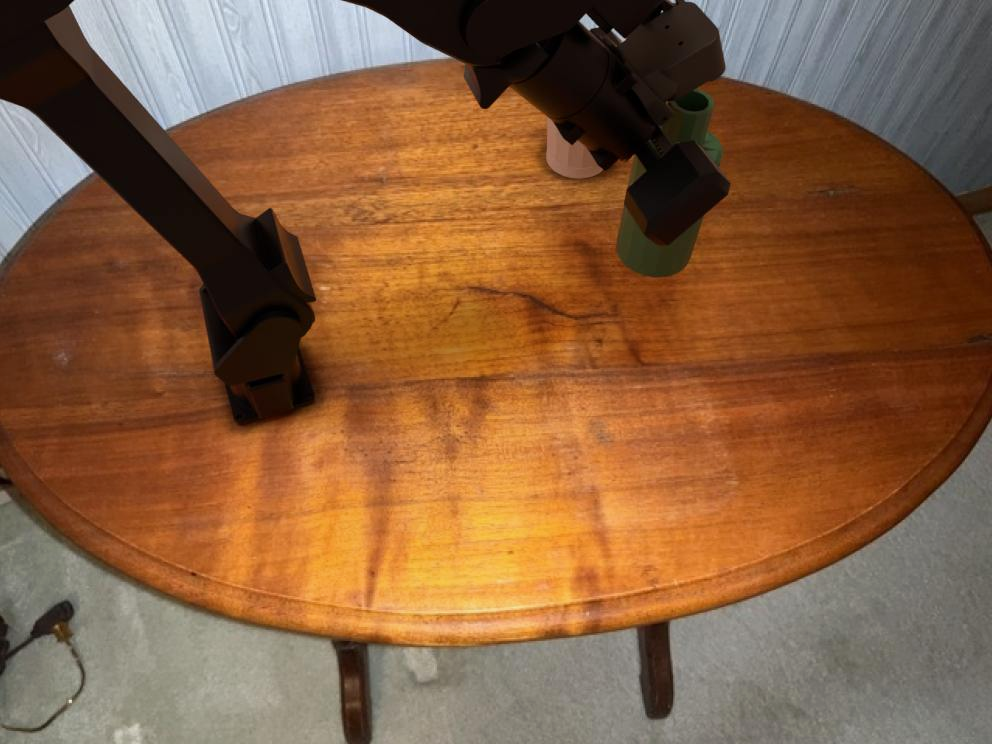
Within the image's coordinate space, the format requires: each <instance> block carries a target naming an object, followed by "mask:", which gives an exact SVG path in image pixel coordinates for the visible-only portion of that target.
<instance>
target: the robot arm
mask: <svg viewBox="0 0 992 744" xmlns="http://www.w3.org/2000/svg"><path fill="white" fill-rule="evenodd" d="M74 1H75V0H0V100H2V101H4V102H7V103H10V104H12V105H16V106H17V107H22V108H23V109H26V110H27V111H29V113H31V114H32V115H34V116H35V117H37V118H38V119H39V120H40V121H41V122H42V124H44V125H45V126H46V127H47V129H49V130H50V131H51V132H52V133H53V134H55V136H57V137H58V139H60V141H61V142H63V143H64V145H66V147H68V148H69V149H70V150H71V151H72V152H73V153H74V154H75V155H77V157H78V158H80V160H81V161H82V162H83V163H84V164H86V165H87V166H88V167H89V168H90V169H91V171H93V172H94V173H95V174H96V175H97V176H98V177H99V178H100V179H101V180H102V181H103V182H104V183H106V185H108V186H109V188H111V189H112V191H114V192H115V194H117V195H118V196H119V197H120V198H121V199H122V200H123V201H124V202H125V203H126V204H127V205H128V206H130V208H131V209H132V210H133V211H134V212H135V213H137V214H138V215H139V216H140V217H141V218H142V219H143V221H145V222H146V223H147V224H148V225H149V226H150V227H151V228H152V229H153V230H154V231H155V232H157V233H158V234H159V236H160V237H161V238H163V239H164V240H165V241H166V242H167V243H168V244H169V245H170V246H171V247H172V248H173V249H174V250H175V251H176V252H177V253H178V254H179V255H180V256H181V257H182V258H183V259H184V260H185V261H187V263H188V264H189V265H190V266H192V268H194V269H195V271H196V272H197V274H198V276H199V278H200V280H201V282H202V285H201V286H200V287H199V289H198V293H199V298H200V299H199V300H200V305H201V309H202V314H203V319H204V325H205V330H206V336H207V341H208V346H209V352H210V356H211V362H212V368H213V372H214V375H215V376H216V377H217V378H219V379H220V380H221V381H222V382H224V386H225V391H226V394H227V398H228V402H229V405H230V409H231V415H232V417H233V420H234V423H235V424H236V425H238V426H242V425H246V424H250V423H253V422H255V421H259V420H263V419H267V418H271V417H275V416H277V415H281V414H284V413H286V412H290V411H292V410H295V409H298V408H302V407H305V406H308V405H311V404H313V403H315V401H316V398H317V397H316V394H315V391H314V388H313V385H312V382H311V379H310V375H309V373H308V369H307V367H306V364H305V361H304V358H303V354H302V352H301V348H300V344H301V340H302V338H304V337H305V336H306V335H307V333H308V332H309V331H310V330H311V329H312V327H313V324H314V323H315V322H316V314H315V310H314V306H313V303H315V302H316V301H317V297H316V293H315V289H314V286H313V284H312V280H311V276H310V273H309V269H308V266H307V263H306V260H305V256H304V253H303V250H302V246H301V243H300V239H299V237H298V236H297V235H295V234H293V233H291V232H290V231H288V230H287V229H286V228H285V227H284V226H283V225H282V223H281V222H280V220H279V218H278V217H277V214H276V213H275V211H274V209H273V208H272V207H269V208H267V209H266V210H264V211H263V212H262V213H260V214H259V215H258V216H256V217H254V216H251V215H247V214H244V213H241V212H239V211H238V210H236V209H235V208H234V207H233V206H232V205H231V204H230V203H229V201H227V200H226V198H225V197H224V196H223V194H221V193H220V192H219V190H218V189H217V188H216V187H215V186H214V184H213V183H212V182H211V181H210V180H209V179H208V178H207V176H206V175H204V173H203V172H202V171H201V170H200V169H199V168H198V166H197V165H196V164H195V163H194V162H193V160H192V159H190V157H189V156H188V155H187V153H185V152H184V151H183V149H182V148H181V147H180V146H179V145H178V144H177V143H176V141H175V140H174V139H173V138H172V137H171V136H170V135H169V133H168V132H167V131H166V130H165V129H164V128H163V127H162V126H161V125H160V123H159V122H158V121H157V120H156V119H155V118H154V117H153V115H151V113H150V112H149V111H148V110H147V108H146V107H145V106H144V105H143V103H141V102H140V100H139V99H138V98H137V97H136V96H135V95H134V94H133V92H132V91H131V90H130V89H129V88H128V87H127V86H126V85H125V83H124V82H123V81H122V80H121V79H120V78H119V76H117V75H116V74H115V72H114V71H113V70H112V69H111V68H110V66H109V65H108V64H107V63H106V62H105V61H104V60H103V58H102V57H101V56H100V55H99V54H98V53H97V52H96V51H95V49H93V47H92V46H91V44H90V43H89V41H88V40H87V38H86V36H85V34H84V32H83V30H82V28H81V27H80V24H79V22H78V20H77V18H76V16H75V14H74V11H72V7H71V6H70V5H71V4H72V3H74ZM340 1H342V2H345V3H348V4H352V5H355V6H360V7H363V8H366V9H368V10H370V11H371V12H374V13H376V14H379V15H380V16H383V17H384V18H386V19H388V20H389V21H390V22H392V23H393V24H395V25H396V26H397V27H399V28H400V29H401V30H403V31H404V32H406V33H407V34H408V35H410V36H411V37H413V38H414V39H416V40H417V41H418V42H420V43H421V44H423V45H425V46H427V47H429V48H431V49H433V50H435V51H437V52H440V53H442V54H444V55H446V56H448V57H450V58H452V59H454V60H456V61H459V62H460V63H463V64H464V71H463V79H464V81H465V83H466V84H467V86H468V88H469V90H470V91H471V93H472V95H473V97H474V99H475V100H476V102H477V105H478V106H479V108H480V109H481V110H488V109H490V107H491V106H492V105H494V103H495V102H496V101H497V100H498V99H499V98H500V97H501V96H502V95H503V94H504V93H505V91H506V90H507V89H508V88H510V89H512V90H513V91H514V92H515V93H517V94H518V95H519V96H520V97H521V98H523V99H524V100H525V101H527V102H528V103H529V104H531V106H533V107H534V108H536V109H537V110H538V111H540V113H542V114H543V115H545V116H546V118H547V117H548V118H550V119H551V120H552V121H553V123H554V124H555V126H556V128H557V129H558V131H559V132H560V134H561V136H562V137H563V139H564V140H566V141H567V142H568V143H570V144H571V145H573V144H574V143H575V142H576V141H577V140H578V141H579V142H580V143H582V144H583V145H584V146H585V147H586V148H587V149H588V151H589V152H590V154H591V155H592V157H593V159H594V160H595V162H596V163H597V165H598V166H599V167H601V168H602V169H603V171H605V172H607V171H608V170H609V169H611V167H612V166H613V165H614V164H615V163H617V162H618V161H620V162H621V163H623V164H626V163H627V162H628V161H630V160H631V158H632V157H634V154H635V155H636V156H637V157H638V159H639V160H640V162H641V163H642V165H643V166H644V168H645V169H646V172H645V173H644V174H643V175H642V176H640V177H639V178H638V179H637V180H636V181H635V182H634V183H633V184H632V185H631V186H630V187H628V186H627V188H626V191H625V195H624V201H623V206H624V205H625V206H626V208H627V209H628V211H629V213H630V214H631V216H632V217H633V219H634V220H635V222H636V224H637V225H638V227H639V228H640V230H641V231H642V233H643V234H644V236H645V237H647V238H648V239H650V240H651V241H652V242H654V243H655V244H657V245H658V246H668V245H670V244H671V243H672V242H673V241H674V240H675V239H677V238H678V237H679V236H680V235H681V234H683V233H684V232H685V231H686V230H687V229H688V228H690V227H691V226H692V225H693V224H694V223H695V222H697V221H698V220H699V219H700V218H701V217H702V216H704V217H705V215H706V214H707V213H708V212H710V211H711V210H712V209H713V208H715V206H717V205H718V204H720V202H722V201H723V200H724V199H725V198H726V197H727V196H728V195H729V192H730V188H731V185H732V183H731V181H730V180H729V179H728V177H727V176H726V175H725V174H724V172H723V171H722V170H721V168H720V166H719V167H718V166H717V165H716V163H715V162H714V161H713V159H712V158H711V157H710V156H709V155H708V154H707V153H706V152H705V150H704V149H703V148H702V146H701V145H700V144H699V143H697V142H696V141H695V140H691V141H686V142H677V143H675V144H672V143H671V141H670V140H669V139H668V137H667V136H666V134H665V133H664V132H663V130H662V129H661V128H660V126H662V125H663V124H664V123H665V122H667V121H668V120H669V119H670V118H671V117H672V116H673V115H674V114H675V113H674V112H673V111H672V109H671V108H670V107H669V106H668V105H667V104H668V101H674V100H677V99H679V98H681V97H682V96H684V95H686V94H688V93H689V92H691V91H693V90H695V89H699V88H700V87H701V86H703V85H705V84H707V83H708V82H711V83H712V82H714V81H716V80H718V79H719V78H721V77H722V76H723V75H724V73H725V72H726V69H727V68H726V67H727V65H726V60H725V55H724V51H723V44H722V40H721V39H722V38H721V34H720V30H719V28H718V27H717V25H716V24H715V23H714V22H713V21H712V20H711V19H710V18H709V16H708V15H706V13H705V12H704V10H702V9H701V7H699V5H698V4H697V3H695V2H693V1H686V0H675V2H673V1H671V0H340ZM585 15H587V16H588V18H589V19H590V20H591V21H592V22H593V23H594V24H595V26H597V27H591V28H590V29H589V28H587V27H586V26H585V25H584V24H583V23H582V22H581V20H582V19H583V17H584V16H585ZM613 29H614V31H613ZM614 32H616V33H617V34H619V35H620V36H621V37H622V39H624V40H623V42H622V41H621V40H622V39H621V38H620V37H619V36H618V35H617V34H616V33H614ZM619 38H620V39H621V40H620V39H619ZM649 139H650V140H651V142H652V143H653V144H654V146H655V147H656V149H657V150H658V151H659V153H660V154H661V156H662V157H661V158H660V157H659V156H658V154H657V153H656V151H655V150H654V149H653V147H652V146H651V144H650V143H649V142H648V141H649ZM308 397H309V398H308Z"/></svg>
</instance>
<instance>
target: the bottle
mask: <svg viewBox="0 0 992 744" xmlns="http://www.w3.org/2000/svg"><path fill="white" fill-rule="evenodd" d="M666 104H667V105H668V106H669V107H670V108H671V109H672V111H673V112H674V113H675V114H674V115H673V116H672V117H671V118H670V119H669V120H668V121H667V122H665V123H664V124H663V125H662V126H660V128H661V129H662V130H663V132H664V133H665V134H666V136H667V137H668V139H669V140H670V141H671V143H672V144H675V143H677V142H686V141H691V140H695V141H696V142H697V143H699V144H700V145H701V146H702V148H703V149H704V150H705V152H706V153H707V154H708V155H709V156H710V157H711V158H712V159H713V161H714V162H715V163H716V165H717V166H718V167H719V168H720V165H721V163H722V162H721V161H722V158H723V153H724V149H723V147H722V143H721V141H720V140H719V138H717V137H716V136H715V134H713V133H712V132H711V130H709V129H708V128H709V126H710V122H711V119H712V115H713V112H714V108H715V99H713V97H712V96H711V95H710V94H709V93H708V92H706V91H704V90H702V89H699V88H696V89H695V90H693V91H691V92H689V93H688V94H686V95H684V96H682V97H681V98H679V99H677V100H674V101H667V103H666ZM648 142H649V143H650V144H651V146H652V147H653V149H654V150H655V151H656V153H657V154H658V156H659V157H660V158H661V157H662V156H661V154H660V153H659V151H658V150H657V149H656V147H655V146H654V144H653V143H652V142H651V140H650V139H649V141H648ZM645 172H646V169H645V168H644V166H643V165H642V163H641V162H640V160H639V159H638V157H637V156H636V155H635V154H634V155H633V159H632V164H631V169H630V173H629V178H628V184H627V188H628V187H630V186H631V185H632V184H633V183H634V182H635V181H636V180H637V179H638V178H639V177H640V176H642V175H643V174H644V173H645ZM704 217H705V215H704V216H702V217H701V218H700V219H699V220H698V221H697V222H695V223H694V224H693V225H692V226H691V227H690V228H688V229H687V230H686V231H685V232H684V233H683V234H681V235H680V236H679V237H678V238H677V239H675V240H674V241H673V242H672V243H671V244H670V245H668V246H658V245H657V244H655V243H654V242H652V241H651V240H650V239H648V238H647V237H645V236H644V234H643V233H642V231H641V230H640V228H639V227H638V225H637V224H636V222H635V220H634V219H633V217H632V216H631V214H630V213H629V211H628V209H627V208H626V206H625V205H624V204H623V208H622V213H621V218H620V222H619V227H618V232H617V237H616V245H615V249H616V253H617V256H618V258H619V260H620V261H621V263H622V264H623V265H624V266H626V267H627V268H628V270H630V271H632V272H635V273H636V274H638V275H641V276H644V277H648V278H649V277H650V278H666V277H667V278H668V277H672V276H675V275H677V274H680V272H682V271H683V270H684V269H685V268H686V267H687V266H688V264H689V263H690V261H691V258H692V254H693V252H694V248H695V245H696V242H697V239H698V236H699V234H700V233H699V232H700V229H701V226H702V223H703V219H704Z"/></svg>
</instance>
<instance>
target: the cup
mask: <svg viewBox="0 0 992 744" xmlns="http://www.w3.org/2000/svg"><path fill="white" fill-rule="evenodd" d="M618 38H619V39H620V40H621V41H622V42H623V41H624V40H622V39H621V38H620V37H618ZM545 159H546V163H547V165H548V166H549V168H550V169H551V170H552V171H554V172H555V173H556V174H558V175H560V176H563V177H565V178H570V179H578V180H579V179H580V180H581V179H588V178H592V177H594V176H597V175H599V174H600V173H602V172H603V171H604V170H603V169H602V168H601V167H599V166H598V165H597V163H596V162H595V160H594V159H593V157H592V155H591V154H590V152H589V151H588V149H587V148H586V147H585V146H584V145H583V144H582V143H580V142H579V141H578V140H577V141H576V142H575V143H574V144H573V145H571V144H570V143H568V142H567V141H566V140H564V139H563V137H562V136H561V134H560V132H559V131H558V129H557V128H556V126H555V124H554V123H553V121H552V120H551V119H550V118H548V117H547V116H546V154H545Z"/></svg>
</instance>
